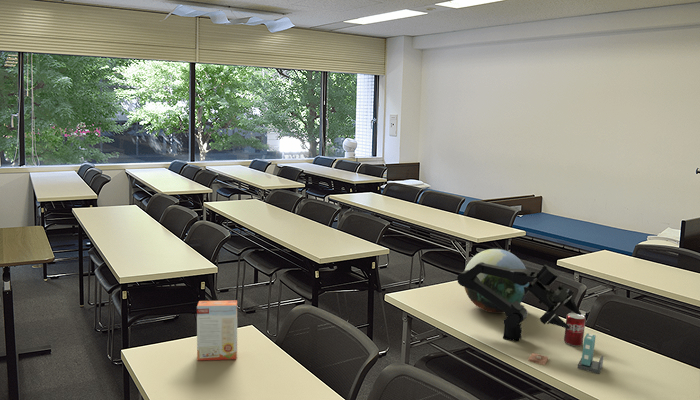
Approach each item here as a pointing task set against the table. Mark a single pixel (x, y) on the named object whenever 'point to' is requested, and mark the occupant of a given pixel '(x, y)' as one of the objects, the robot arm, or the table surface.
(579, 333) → the soda can
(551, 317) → the robot arm
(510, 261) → the decorative globe
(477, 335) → the table surface
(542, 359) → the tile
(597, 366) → the key two base
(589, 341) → the key two
